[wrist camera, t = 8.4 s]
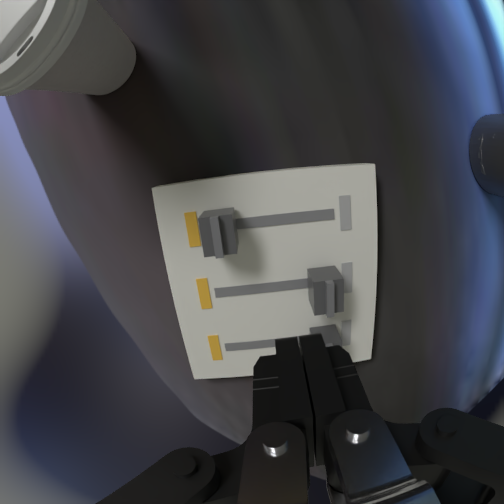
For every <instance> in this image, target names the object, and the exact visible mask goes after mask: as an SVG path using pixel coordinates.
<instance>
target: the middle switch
mask: <svg viewBox="0 0 504 504" xmlns="http://www.w3.org/2000/svg"><path fill="white" fill-rule="evenodd" d="M307 277H308V296H309V302H310V305H311V307H312V310H313V313H314V316H316V315H324V314H326V316H327V318H329V317H334V313H338V312H344V278H343V276H342V275H341V273H340V272H339V271H338V269H337V268H336V266H335V265H334V266H326V267H318V268H309V269H307Z"/></svg>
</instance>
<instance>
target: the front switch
mask: <svg viewBox="0 0 504 504" xmlns="http://www.w3.org/2000/svg"><path fill="white" fill-rule="evenodd" d="M198 223H199V229H200V235H201V241H202V247H203V253H204V257H212V256H215V257H216V259H217V258H224V255H231V254H237V251H238V244H239V241H238V233H237V225H236V218H235V210H234V207H231V208H223V209H215V210H207V211H203V213H202V214H201V215H200V216H199V218H198Z"/></svg>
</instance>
